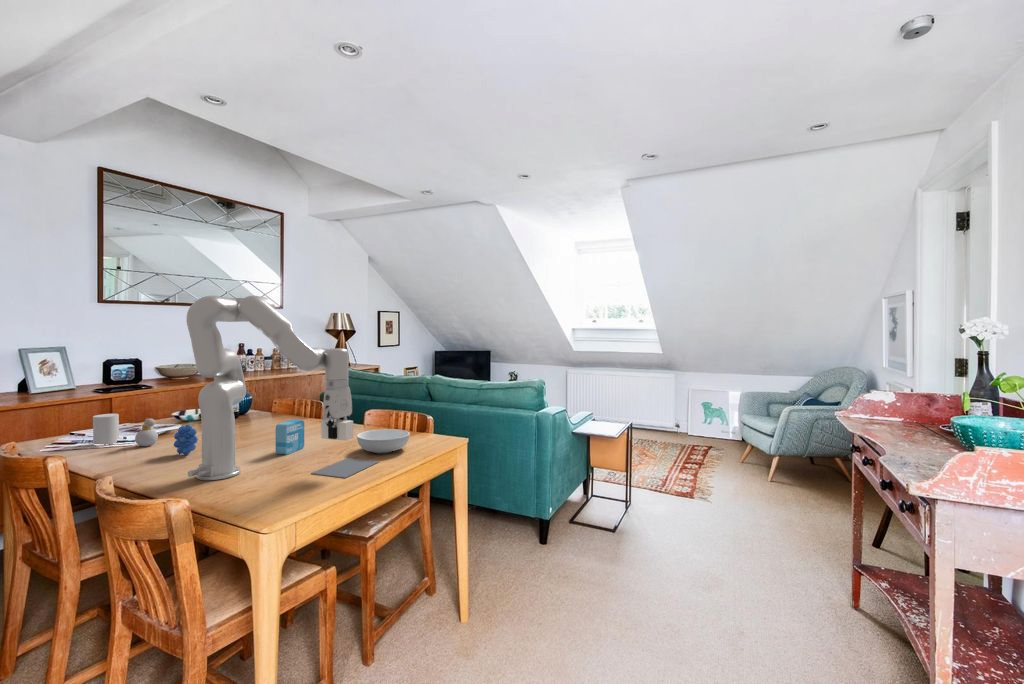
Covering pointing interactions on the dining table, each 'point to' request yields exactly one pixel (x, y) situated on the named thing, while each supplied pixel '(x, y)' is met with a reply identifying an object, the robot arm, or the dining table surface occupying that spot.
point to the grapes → (185, 439)
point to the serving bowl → (383, 440)
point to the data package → (289, 436)
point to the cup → (105, 428)
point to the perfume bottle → (147, 434)
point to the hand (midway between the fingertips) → (337, 436)
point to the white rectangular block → (339, 430)
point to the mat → (345, 467)
